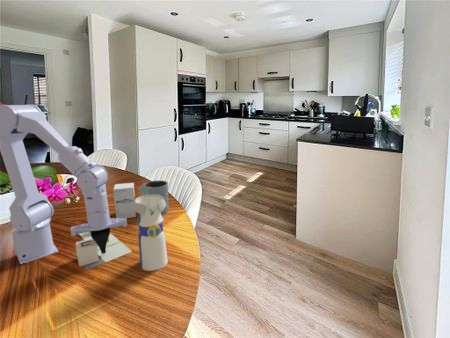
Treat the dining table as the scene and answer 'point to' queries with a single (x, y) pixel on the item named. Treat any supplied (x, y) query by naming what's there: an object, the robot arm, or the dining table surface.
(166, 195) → the grey plant pot
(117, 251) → the tile set
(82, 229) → the robot arm
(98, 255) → the slate mat
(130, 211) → the supplement box
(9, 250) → the dining table surface
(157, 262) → the cream belted figurine
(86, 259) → the letter cube
